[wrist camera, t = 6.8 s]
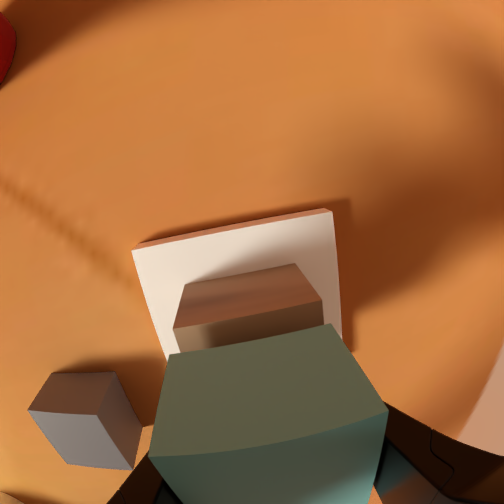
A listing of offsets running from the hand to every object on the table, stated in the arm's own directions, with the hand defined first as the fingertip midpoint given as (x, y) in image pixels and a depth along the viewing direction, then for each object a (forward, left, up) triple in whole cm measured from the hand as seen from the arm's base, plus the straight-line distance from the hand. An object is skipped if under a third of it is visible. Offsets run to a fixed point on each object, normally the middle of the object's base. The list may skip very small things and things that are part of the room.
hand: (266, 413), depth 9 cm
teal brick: (0, 0, -1) cm, 1 cm away
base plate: (0, 0, -7) cm, 7 cm away
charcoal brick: (-5, +11, -7) cm, 14 cm away
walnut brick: (0, 0, -6) cm, 6 cm away
